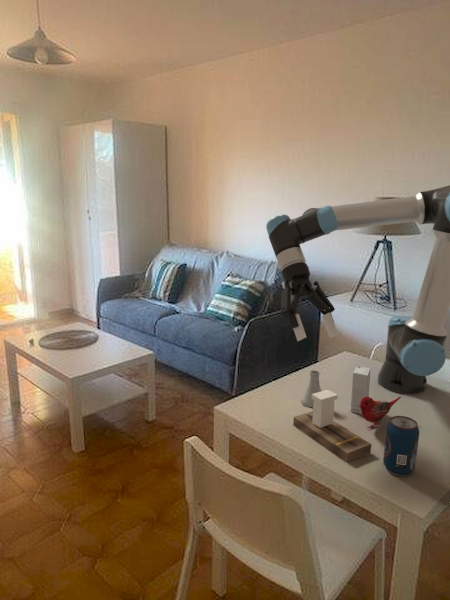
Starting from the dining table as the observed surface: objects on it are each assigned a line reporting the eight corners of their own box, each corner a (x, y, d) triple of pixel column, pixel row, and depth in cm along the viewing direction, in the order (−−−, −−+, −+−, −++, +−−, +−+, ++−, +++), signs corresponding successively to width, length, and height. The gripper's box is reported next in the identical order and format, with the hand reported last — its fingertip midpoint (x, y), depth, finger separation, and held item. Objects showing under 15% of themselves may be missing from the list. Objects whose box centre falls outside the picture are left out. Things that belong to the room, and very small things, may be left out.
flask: (325, 409, 134) (327, 377, 132) (300, 407, 135) (301, 375, 133) (324, 398, 141) (327, 368, 139) (301, 396, 142) (302, 366, 140)
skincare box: (365, 415, 131) (369, 375, 128) (349, 412, 133) (352, 373, 130) (368, 406, 136) (372, 368, 133) (353, 403, 138) (356, 365, 135)
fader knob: (309, 422, 120) (311, 394, 119) (325, 417, 123) (327, 389, 121) (319, 428, 117) (321, 399, 116) (335, 423, 120) (337, 394, 118)
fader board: (293, 425, 125) (293, 416, 124) (315, 418, 129) (316, 409, 128) (346, 462, 108) (347, 452, 108) (370, 453, 112) (371, 443, 112)
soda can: (382, 457, 110) (386, 412, 107) (413, 462, 108) (418, 416, 105) (383, 474, 104) (388, 426, 101) (416, 480, 102) (422, 431, 99)
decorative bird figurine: (352, 431, 122) (355, 397, 120) (394, 414, 132) (398, 382, 129) (360, 436, 120) (364, 401, 117) (403, 418, 129) (407, 385, 127)
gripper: (311, 274, 140) (335, 339, 134) (253, 271, 124) (277, 345, 117) (330, 262, 135) (356, 330, 128) (271, 258, 119) (297, 335, 112)
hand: (318, 337), depth 123 cm, fingers open, 13 cm apart
